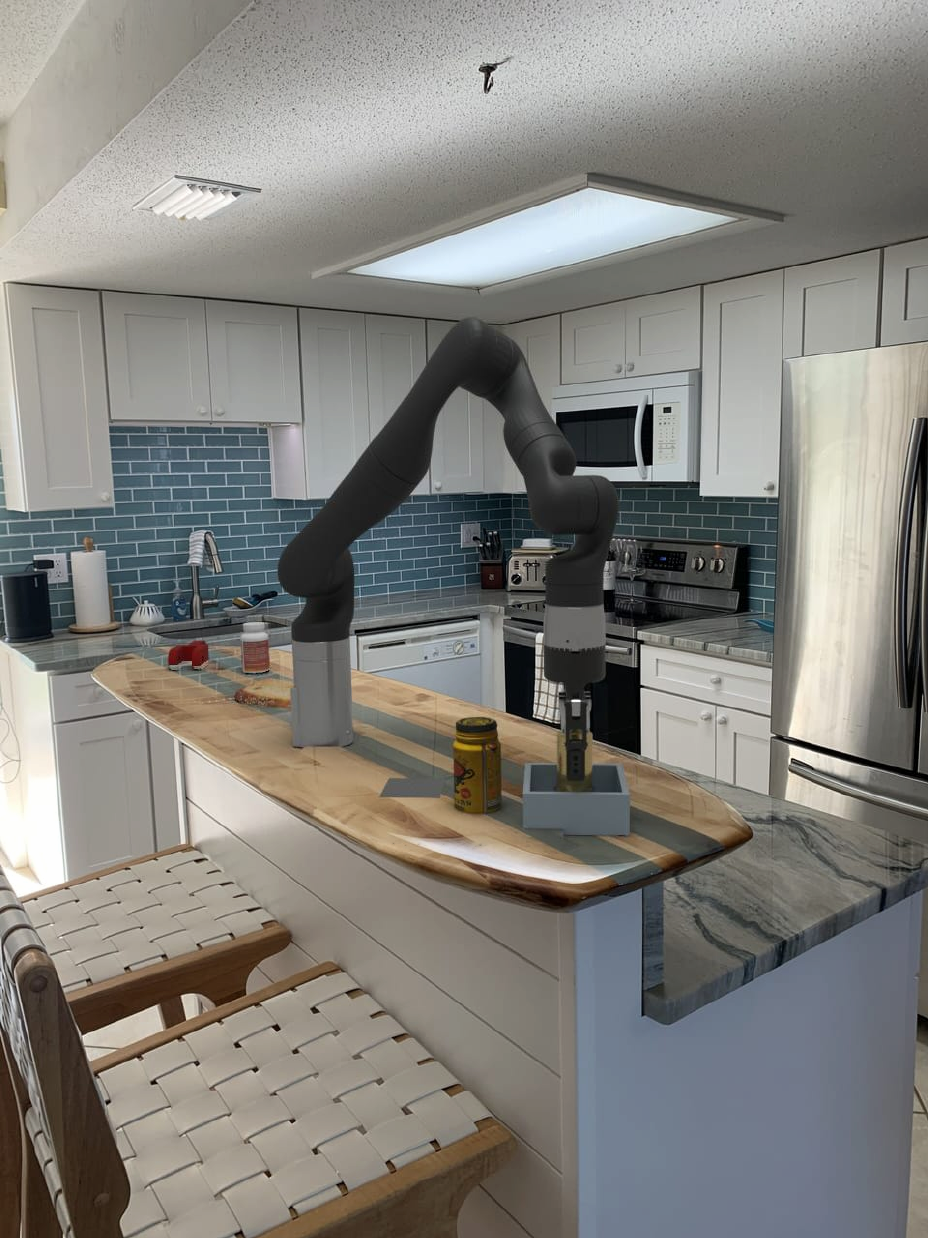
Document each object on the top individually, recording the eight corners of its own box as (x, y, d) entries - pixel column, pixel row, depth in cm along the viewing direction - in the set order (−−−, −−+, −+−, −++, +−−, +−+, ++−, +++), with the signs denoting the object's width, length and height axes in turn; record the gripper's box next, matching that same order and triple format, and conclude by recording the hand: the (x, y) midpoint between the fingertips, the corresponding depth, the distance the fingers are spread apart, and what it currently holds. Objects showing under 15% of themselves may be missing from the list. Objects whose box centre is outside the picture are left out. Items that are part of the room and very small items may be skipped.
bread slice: (343, 705, 186) (342, 686, 186) (249, 716, 179) (248, 696, 178) (316, 687, 202) (315, 670, 202) (229, 697, 195) (228, 678, 194)
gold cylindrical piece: (554, 818, 120) (553, 739, 118) (553, 804, 125) (553, 728, 123) (596, 819, 119) (596, 739, 118) (594, 805, 124) (594, 728, 123)
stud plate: (379, 802, 128) (379, 796, 128) (389, 783, 136) (389, 778, 136) (439, 803, 128) (439, 797, 128) (445, 784, 136) (445, 778, 136)
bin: (523, 834, 116) (522, 793, 115) (525, 799, 129) (525, 763, 128) (629, 835, 115) (630, 795, 114) (621, 800, 127) (622, 763, 127)
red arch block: (200, 672, 220) (199, 650, 220) (168, 672, 220) (167, 651, 220) (217, 659, 236) (216, 638, 235) (187, 659, 236) (186, 639, 235)
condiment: (440, 814, 124) (438, 722, 122) (482, 796, 130) (480, 709, 129) (484, 826, 119) (483, 730, 118) (525, 807, 126) (525, 717, 124)
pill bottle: (275, 672, 218) (273, 623, 216) (251, 676, 214) (249, 626, 212) (260, 668, 222) (258, 620, 221) (236, 672, 218) (234, 623, 217)
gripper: (543, 631, 126) (544, 753, 128) (543, 651, 112) (544, 787, 114) (602, 631, 125) (602, 753, 128) (609, 651, 111) (608, 788, 114)
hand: (574, 769), depth 121 cm, fingers open, 8 cm apart
